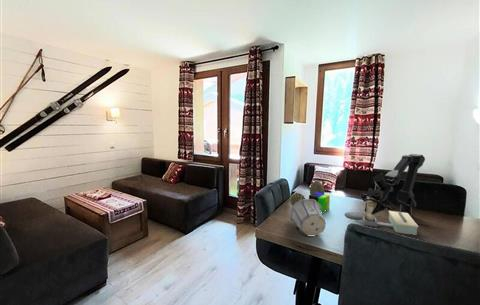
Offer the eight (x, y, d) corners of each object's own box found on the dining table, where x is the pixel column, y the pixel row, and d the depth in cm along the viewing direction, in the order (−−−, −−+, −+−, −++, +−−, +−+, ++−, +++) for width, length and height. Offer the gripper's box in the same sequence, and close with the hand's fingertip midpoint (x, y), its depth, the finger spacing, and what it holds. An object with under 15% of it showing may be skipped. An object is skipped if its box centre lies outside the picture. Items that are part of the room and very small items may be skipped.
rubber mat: (344, 212, 147) (344, 211, 147) (361, 214, 143) (361, 213, 143) (344, 217, 138) (345, 217, 138) (363, 220, 134) (363, 219, 134)
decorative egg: (307, 197, 178) (308, 179, 176) (321, 197, 177) (322, 179, 175) (311, 202, 167) (312, 182, 165) (326, 202, 167) (326, 182, 165)
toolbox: (361, 215, 142) (361, 205, 141) (407, 221, 132) (407, 211, 132) (364, 227, 125) (365, 217, 124) (417, 235, 115) (418, 224, 115)
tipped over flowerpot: (333, 212, 111) (310, 183, 139) (298, 215, 109) (282, 185, 137) (329, 239, 117) (308, 206, 145) (296, 243, 116) (281, 208, 144)
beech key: (364, 221, 133) (365, 200, 132) (373, 222, 131) (374, 201, 130) (365, 224, 129) (366, 202, 128) (374, 225, 127) (376, 203, 126)
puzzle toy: (315, 205, 160) (315, 192, 159) (329, 209, 153) (329, 195, 151) (308, 209, 153) (309, 195, 152) (322, 213, 146) (323, 198, 145)
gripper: (362, 180, 138) (348, 199, 135) (393, 188, 120) (377, 210, 118) (370, 191, 141) (357, 210, 139) (401, 200, 124) (386, 222, 122)
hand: (368, 212), depth 129 cm, fingers closed on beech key, 4 cm apart
